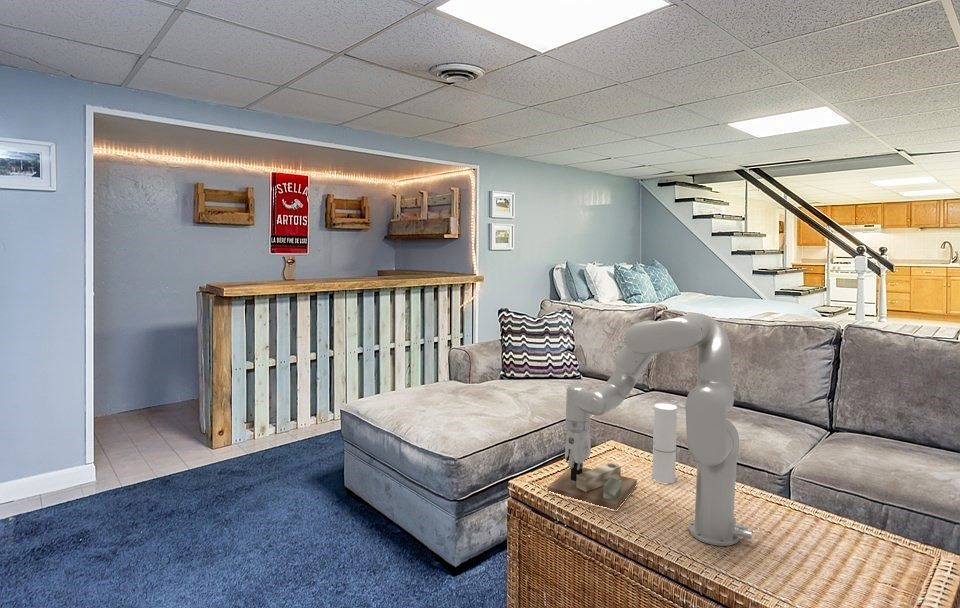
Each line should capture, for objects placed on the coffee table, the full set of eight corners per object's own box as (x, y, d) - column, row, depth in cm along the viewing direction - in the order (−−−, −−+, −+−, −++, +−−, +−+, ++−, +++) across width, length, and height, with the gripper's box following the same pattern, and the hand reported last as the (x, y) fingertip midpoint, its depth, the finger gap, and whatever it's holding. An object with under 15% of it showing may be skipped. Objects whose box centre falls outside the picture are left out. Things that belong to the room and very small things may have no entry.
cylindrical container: (671, 475, 183) (674, 403, 181) (677, 484, 176) (679, 409, 174) (650, 475, 184) (652, 403, 181) (654, 484, 177) (656, 409, 174)
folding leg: (610, 474, 178) (611, 462, 177) (620, 478, 174) (620, 466, 174) (576, 487, 168) (576, 474, 168) (586, 492, 165) (586, 478, 165)
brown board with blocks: (636, 486, 175) (637, 467, 174) (616, 512, 158) (616, 491, 157) (572, 472, 187) (573, 453, 186) (547, 494, 170) (547, 474, 169)
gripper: (579, 433, 161) (578, 492, 163) (598, 419, 173) (596, 474, 175) (556, 428, 165) (555, 486, 167) (576, 415, 177) (574, 469, 179)
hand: (576, 480), depth 171 cm, fingers closed
